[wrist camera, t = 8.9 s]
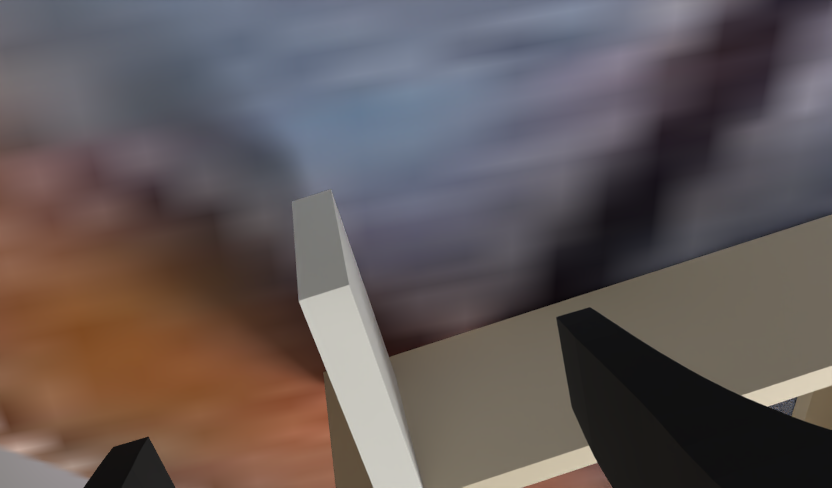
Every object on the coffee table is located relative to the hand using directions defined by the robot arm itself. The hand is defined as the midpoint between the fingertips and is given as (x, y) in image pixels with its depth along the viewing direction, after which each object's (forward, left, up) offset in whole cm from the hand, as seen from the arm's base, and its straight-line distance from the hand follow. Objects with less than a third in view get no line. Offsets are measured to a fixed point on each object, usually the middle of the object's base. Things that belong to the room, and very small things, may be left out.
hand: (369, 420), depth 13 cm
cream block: (0, +7, -8) cm, 10 cm away
